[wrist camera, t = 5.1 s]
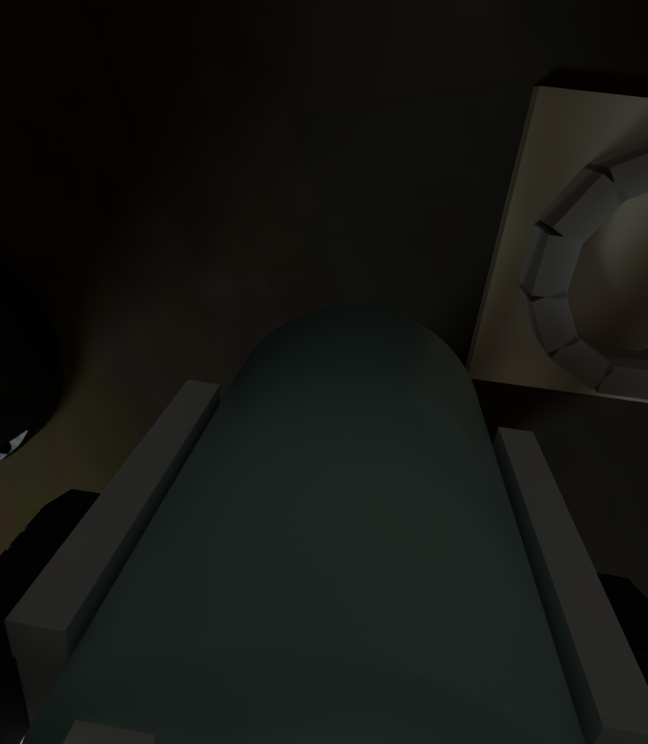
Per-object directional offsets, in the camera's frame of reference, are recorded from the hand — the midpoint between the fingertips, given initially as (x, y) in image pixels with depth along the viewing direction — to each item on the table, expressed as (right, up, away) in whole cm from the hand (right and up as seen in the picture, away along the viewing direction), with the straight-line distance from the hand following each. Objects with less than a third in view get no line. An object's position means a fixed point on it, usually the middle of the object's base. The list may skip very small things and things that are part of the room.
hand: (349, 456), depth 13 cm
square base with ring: (+15, +7, +14) cm, 22 cm away
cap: (0, +1, +1) cm, 1 cm away
